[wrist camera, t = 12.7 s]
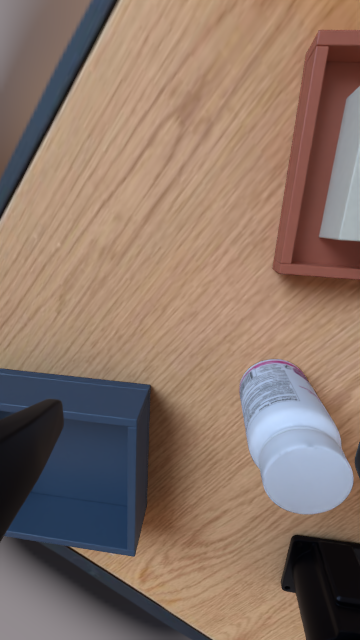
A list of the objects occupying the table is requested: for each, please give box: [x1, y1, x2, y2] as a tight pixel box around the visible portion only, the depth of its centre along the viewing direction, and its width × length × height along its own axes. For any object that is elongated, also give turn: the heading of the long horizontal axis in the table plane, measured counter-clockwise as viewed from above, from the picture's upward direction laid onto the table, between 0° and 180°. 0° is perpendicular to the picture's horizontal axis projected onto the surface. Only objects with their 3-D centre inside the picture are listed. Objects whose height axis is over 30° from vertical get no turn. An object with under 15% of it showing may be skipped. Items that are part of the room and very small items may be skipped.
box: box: [0, 369, 151, 556], centre depth 23 cm, size 12×14×4 cm
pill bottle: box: [240, 359, 353, 514], centre depth 17 cm, size 5×5×8 cm
